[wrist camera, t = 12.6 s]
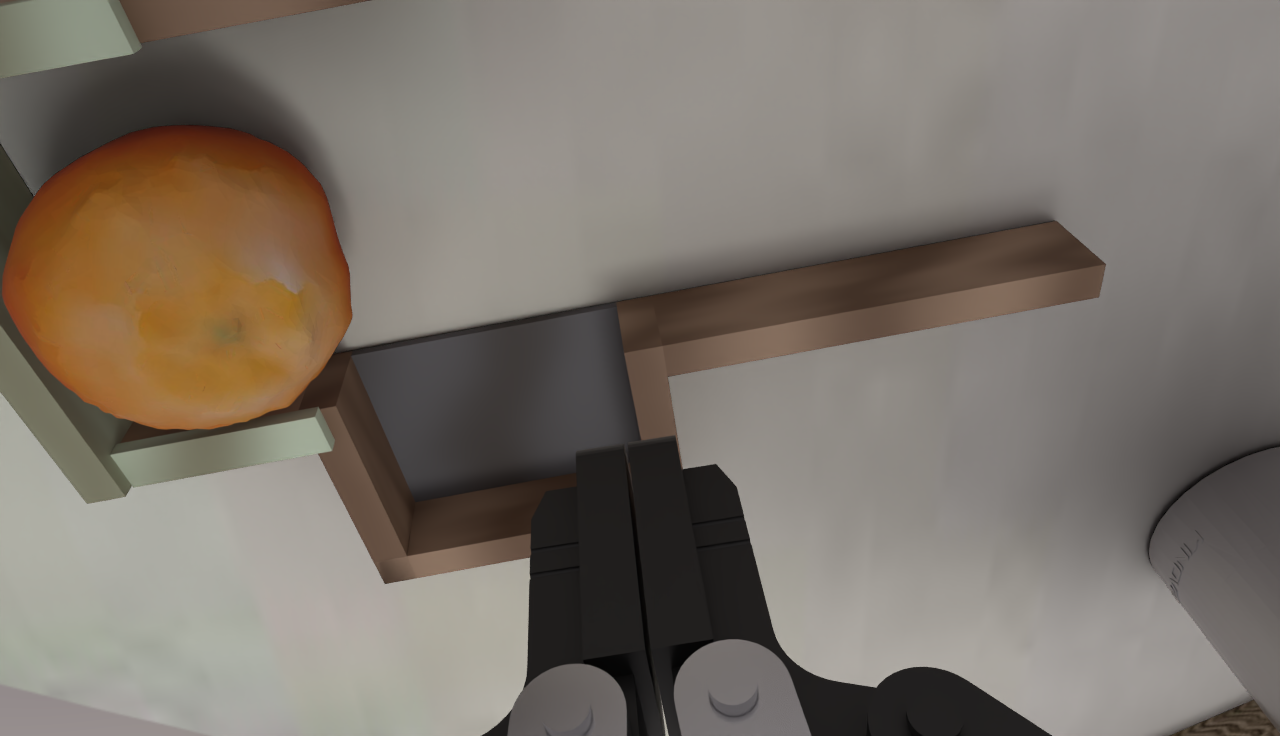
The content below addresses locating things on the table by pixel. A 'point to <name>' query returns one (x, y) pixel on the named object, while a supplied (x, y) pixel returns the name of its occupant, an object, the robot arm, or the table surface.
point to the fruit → (181, 277)
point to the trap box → (488, 351)
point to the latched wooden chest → (1234, 723)
